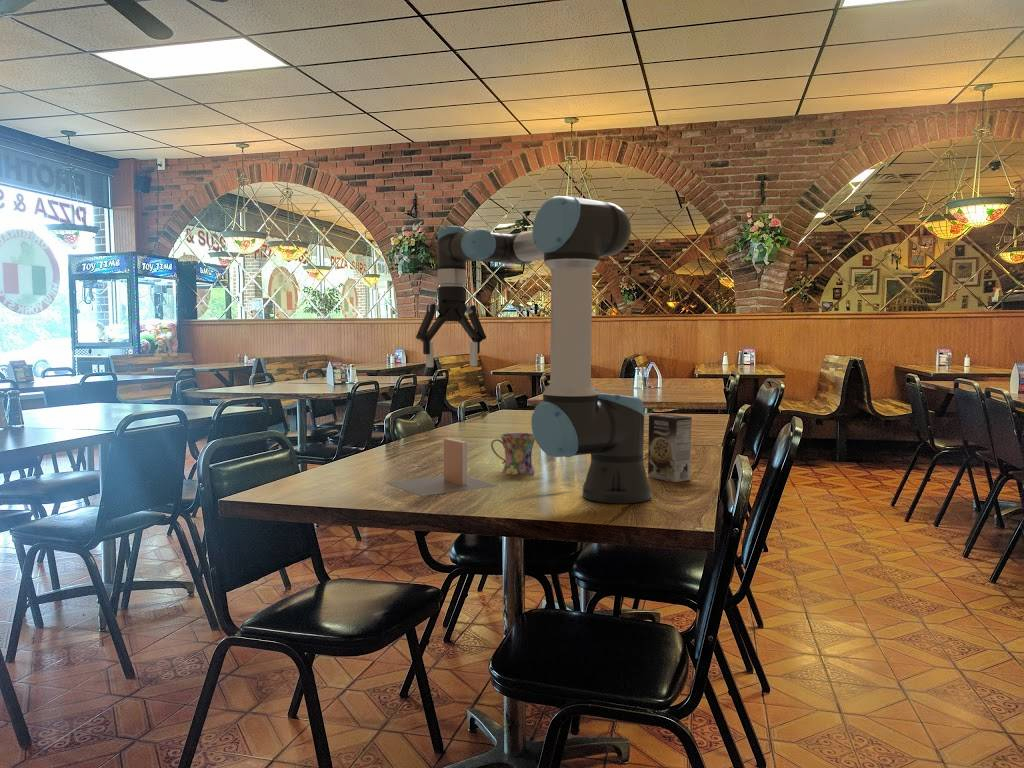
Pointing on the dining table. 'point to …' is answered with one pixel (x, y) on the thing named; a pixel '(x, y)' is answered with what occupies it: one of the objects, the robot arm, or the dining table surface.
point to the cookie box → (669, 447)
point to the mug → (517, 453)
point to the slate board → (437, 485)
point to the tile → (455, 461)
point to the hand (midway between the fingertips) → (452, 366)
